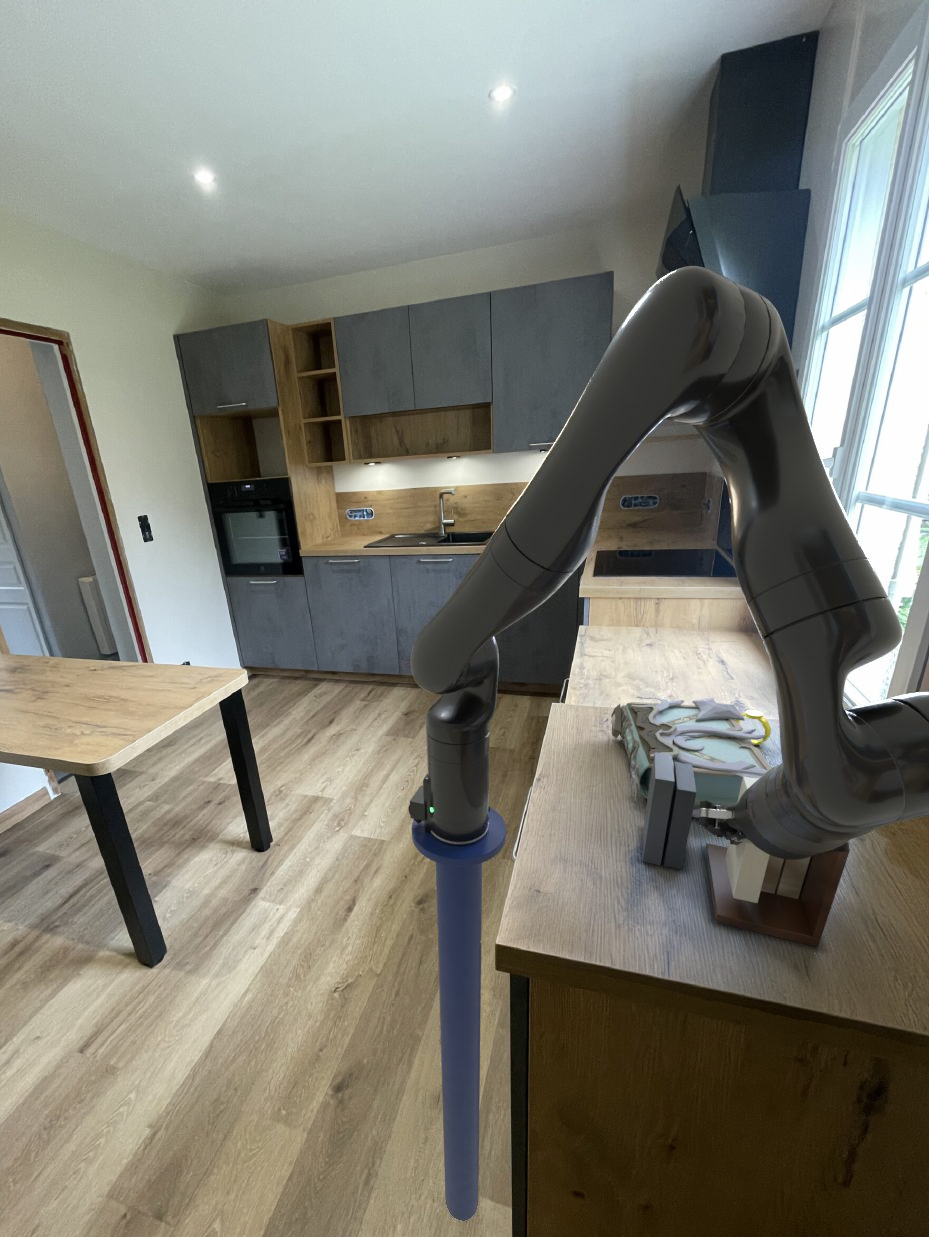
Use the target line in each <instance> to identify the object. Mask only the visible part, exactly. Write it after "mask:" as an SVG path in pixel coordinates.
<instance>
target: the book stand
mask: <svg viewBox="0 0 929 1237" xmlns="http://www.w3.org/2000/svg"><path fill="white" fill-rule="evenodd" d="M727 849H728V846H722V845H718V844H712V843H706V844H705V848H704V852H705V858H706V860H705V861H706V866H707V872H708V879H709V880H708V881H709V886H710V893H711V900H712V905H713V907H712V908H713V914H714V919H715V923H717V924H721V925H724V926H725V925H726V926H730V927H734V928H737V929H738V928H739V929H743V930H747V931H751V932H755V933H760V934H764V935H767V936H772V937H776V938H780V939H784V940H788V941H792V942H796V943H801V944H805V945H809V946H814V947H817V948H818V947H819V946H820V942H821V939H822V937H823V933H824V931H825V927H826V924H827V922H828V918H829V915H830V913H831V909H832V906H833V903H834V900H835V898H836V894H837V891H838V887H839V885H840V883H841V878H842V876H843V873H844V870H845V866H846V863H847V860H848V857H849V855H850V851H851V849H850V848H849V851H848V852H823V853H820V854H817V855H814V856H811V857H808V858H804V859H799V860H787V859H781V858H777V857H774V856H771V855H770V856H769V860H768V863H767V867H766V871H765V875H764V879H763V883H762V887H761V891H760V895H759V899H758V903H754V902H750V901H745V900H741V899H736V898H733V893H732V888H731V883H730V878H729V873H728V869H727V864H726V859H725V858H726V853H727Z"/></svg>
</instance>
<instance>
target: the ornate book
mask: <svg viewBox="0 0 929 1237" xmlns="http://www.w3.org/2000/svg"><path fill="white" fill-rule="evenodd" d="M651 699H654V700H658V701H660V703H657V702H641V701H640V702H639V701H631V702H627V703H626V704H625V705H624V704H623V705H621V703H619V704H618V705H616V706H615V707H614V708H613V710H612V713H611V719H610V723H611V735H612V736H613V737H614V739H617V738H619V737H620V739H621V741H622V742H623V745H624V747H625V751H626V754H627V757H628V765H629V769H630V774H631V778H630V781H629V784H630V785H629V786H630V787H631V798H633V797H634V801H635V802H636V800H637V795H638V791H639V793H640V795H641V796H642V797H643V798H645V799H647V800H648V794H649V787H650V780H651V773H652V767H653V760H654V753H655V752H657V753H664V754H671V755H672V758H673V768H674V762H679V763H686V764H692V766H693V773H694V779H695V786H696V798H695V803H694V809H693V814H692V818H698V819H699V810H700V801H709V802H711V803H713V804H714V805H719V806H720V809H721V810H726V809H727V807H728V806H729V805H732V804H737V802H738V798H739V793H740V789H741V784H742V779H743V776H744V777H751V778H758V779H759V778H760V777H761V776H763V775H764V774H765V773H766V772H767V771H769V770H770V769H772V768H773V767H772V766H771V765H770V763H769V762H768V761H767V760H766V758H765V757H764V755H763V754H762V751H761V750H760V748H758V747H756V746H755V744H753V742H752V741H751V740H756V741H758V740H762V739H763V738H764V737H766V736H767V735H765V734H755V731H757V728H754V729H746V730H743V726H742V725H741V724H740V723H739V724H738V723H737V721H736V720H740V721H745V717H744V716H742V714H741V712H740V711H739V710H738V709H737V707H736V706H735V704H733V703H725V702H716V701H715V700H714V699H715V698H714V697H708V698H703V699H702V698H701V699H695V700H692V704H684V703H685V700H683V699H680V700H670V701H668V700H667V699H665V698H660V697H653V696H652V697H642V698H640V700H651Z"/></svg>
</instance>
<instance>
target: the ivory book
mask: <svg viewBox="0 0 929 1237" xmlns="http://www.w3.org/2000/svg"><path fill="white" fill-rule="evenodd" d="M757 780H758V778H751V777H744V776H743V779H742V784H741V789H740V793H739V798H738V802H739V800H740V798H741V796H742V795H743V793H744V792H745V791H746V790H747V789H748V788H749V787H750V786H751V785H753V784H754V783H755V782H756V781H757ZM738 802H737V804H738ZM727 847H728V849H727V853H726V858H725V859H726V864H727V869H728V873H729V878H730V883H731V888H732V893H733V898H736V899H741V900H745V901H750V902H754V903H758V899H759V895H760V891H761V887H762V883H763V879H764V875H765V871H766V867H767V863H768V860H769V856H770V855H769V854H767V853H765V852H763V851H762V850H760V849H759V848H757V847H756V846H755V845H754V844H753V843H751V844H750V843H746V842H742V843H740V844H738V845H733V844H730V840H728V844H727Z"/></svg>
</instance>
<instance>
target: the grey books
mask: <svg viewBox="0 0 929 1237" xmlns="http://www.w3.org/2000/svg"><path fill="white" fill-rule="evenodd" d="M695 798H696V786H695V779H694V773H693V766H692V764H686V763H679V762H674V768H673V758H672V755H671V754H664V753H657V752H655V753H654V760H653V767H652V773H651V780H650V787H649V794H648V799H647V801H646V808H645V814H644V821H643V828H642V862H644V863H647V864H648V863H649V864H654V865H656V866H657V865H658V866H661V864H662V860H663V866H664V867H667V868H673V869H677V870H683V867H684V863H685V862H684V861H685V856H686V850H687V846H688V841H689V836H690V829H691V824H692V820H693V819H692V818H693V816H692V814H693V809H694V803H695Z"/></svg>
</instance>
